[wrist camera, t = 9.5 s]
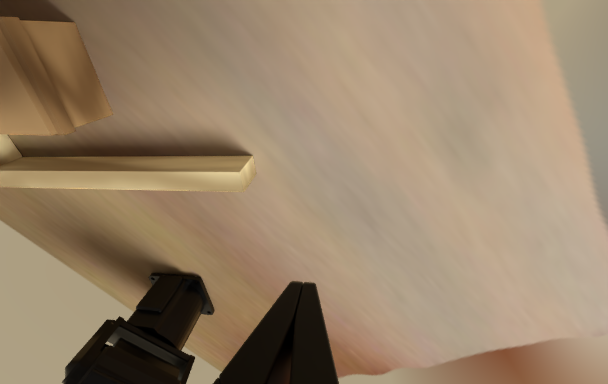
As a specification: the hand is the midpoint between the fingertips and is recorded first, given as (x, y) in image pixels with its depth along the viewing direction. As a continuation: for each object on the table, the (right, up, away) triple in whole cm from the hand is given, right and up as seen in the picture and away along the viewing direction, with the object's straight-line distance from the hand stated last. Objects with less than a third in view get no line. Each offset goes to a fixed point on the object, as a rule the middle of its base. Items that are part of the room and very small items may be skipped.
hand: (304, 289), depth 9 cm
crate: (-18, +12, +10) cm, 24 cm away
